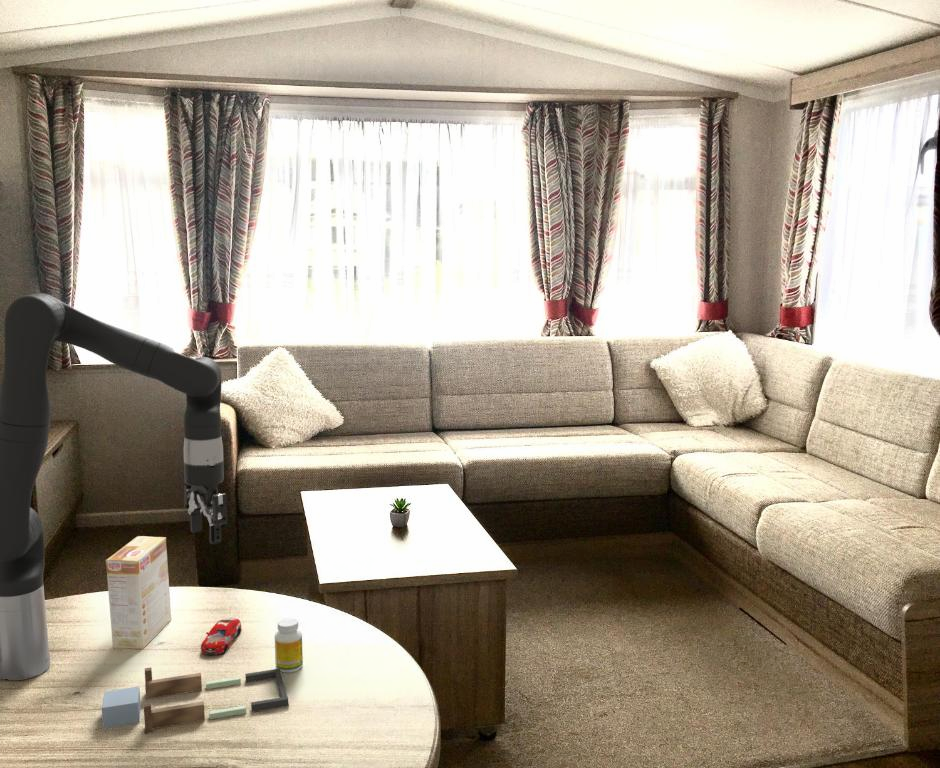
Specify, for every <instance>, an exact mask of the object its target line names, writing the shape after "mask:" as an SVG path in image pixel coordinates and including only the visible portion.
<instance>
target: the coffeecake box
mask: <svg viewBox="0 0 940 768" xmlns="http://www.w3.org/2000/svg"><path fill="white" fill-rule="evenodd" d="M167 549H168V548H167V537H164V536H145V535H142V536H141V535H138V536H136V537H135V538H133V539H132V540H131V541H129V542H128V543H126V544H125V545H124V546H123V547H121V548H120V549H118V551H116V552H115V553H114V554H112V555H111V556H110V557H108V558H107V559H106V560H105V565H106V566H105V567H106V576H107V577H106V578H107V588H108V589H107V590H108V592H107V593H108V601H109V602H108V603H109V613H110V614H109V615H110V626H111V627H110V628H111V630H110V631H111V639H112V641H111V643H112V648H113V649H134V650H135V649H136V650H143V649H144V648H145V647H146V646H147V645H149V643H150V642H151V641H152V640H153V639H154V638H155V637H156V636H157V634H159V633H160V632H161V631H162V630H163V628H165V626H166V625H168V623H169V622H171V620H172V614H171V613H172V611H171V610H172V609H171V598H170V597H171V596H170V595H171V594H170V583H169V582H170V581H169V566H168V553H167V552H168V551H167Z"/></svg>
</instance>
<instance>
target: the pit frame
mask: <svg viewBox="0 0 940 768" xmlns="http://www.w3.org/2000/svg"><path fill="white" fill-rule="evenodd" d="M244 675H245V683H246V684H247V683H253V682H261V681H265V680H266V681H268V680H273V679H275V682H276V685H277V689H278V692H279V696H280V697H276V698H269V699H263V700H257V701H252V702H250V708H251V713H255V712H256V713H257V712H261V711H268V710H273V709H278V708H286V707H290V706H289V702H290V701H289V696H288V693H287V689H286V686H285V683H284V678H283V675H282V672H281V671H280V669H276V668H274V669H267V670H261V671H255V672H254V671H253V672H250V673H249V672H248V673H245V674H244Z"/></svg>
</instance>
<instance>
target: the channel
mask: <svg viewBox="0 0 940 768" xmlns="http://www.w3.org/2000/svg"><path fill="white" fill-rule="evenodd" d="M152 671H153V670H152V666H151V667H145V668H144V679H145V680H144V682H145V683H144V686H145V699H146V700H149V699H155V698H156V699H157V698H163V697H169V696H174V695H175V696H176V695H182V694H187V693H193V692H194V693H195V692H201V691H202V690H203V683H202V672H197V673H191V674H184V675H177V676H172V677H171V676H170V677H165V678H159V679H157V678H156V679H153V672H152ZM205 717H206V716H205V701H197V702H191V703H185V704H179V705H178V704H177V705H172V706H167V707H159V708H155V709H152V702H145V703H143V718H144V720H143V721H144V731H145V734H150V733H154V732H153V729H159V728H167V727H171V726H179V725H183V724H189V723H195V722H196V723H197V722H202V721H205V720H206V718H205Z"/></svg>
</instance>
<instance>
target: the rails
mask: <svg viewBox="0 0 940 768" xmlns="http://www.w3.org/2000/svg"><path fill="white" fill-rule="evenodd" d="M241 681H242V679H241V676H236V677H229V678H221V679H217V680H209V681H205V688H206V690H208V689H209V690H210V689H214V688H222V687H229V686H235V685H241V684H242V683H241ZM243 714H247V705H240V706H234V707H228V708H221V709H215V710H211V711H210V710H209V711H208V718H209V720H213V719H220V718H224V717H225V718H227V717H231V716H237V715H243Z"/></svg>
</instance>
